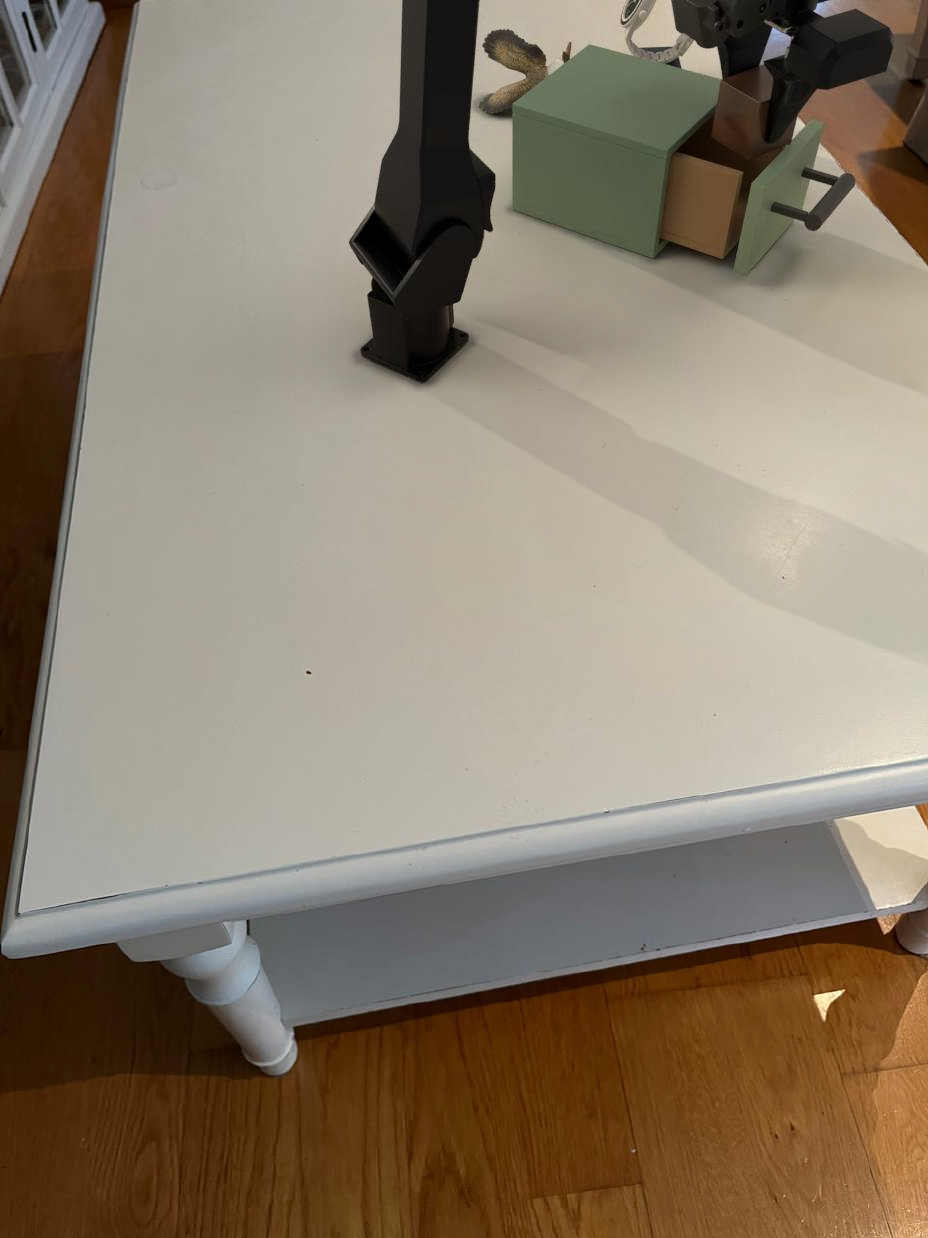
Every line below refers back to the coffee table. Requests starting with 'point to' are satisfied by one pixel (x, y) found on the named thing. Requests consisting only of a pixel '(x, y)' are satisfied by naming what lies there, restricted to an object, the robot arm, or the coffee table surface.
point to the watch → (631, 20)
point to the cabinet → (605, 144)
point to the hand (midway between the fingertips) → (752, 127)
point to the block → (746, 114)
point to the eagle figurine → (517, 67)
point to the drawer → (744, 195)
